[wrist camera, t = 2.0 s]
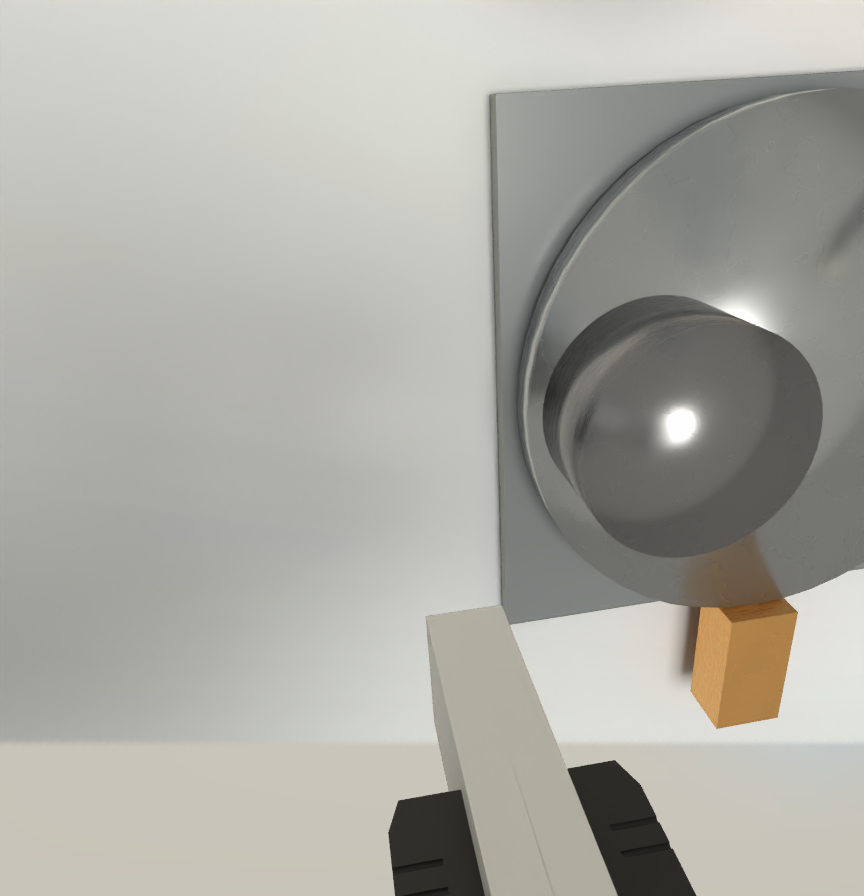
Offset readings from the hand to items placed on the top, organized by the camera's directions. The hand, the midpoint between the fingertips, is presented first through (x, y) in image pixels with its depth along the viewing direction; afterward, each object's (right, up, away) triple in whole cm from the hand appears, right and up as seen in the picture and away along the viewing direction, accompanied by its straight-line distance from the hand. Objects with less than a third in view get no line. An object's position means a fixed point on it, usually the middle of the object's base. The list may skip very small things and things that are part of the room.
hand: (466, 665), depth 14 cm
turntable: (+13, +4, +15) cm, 20 cm away
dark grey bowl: (+7, +6, +12) cm, 15 cm away
